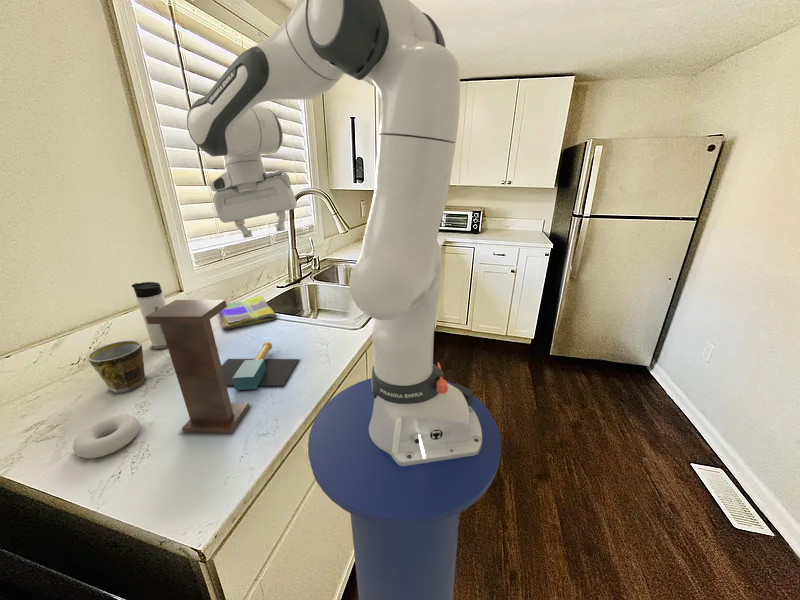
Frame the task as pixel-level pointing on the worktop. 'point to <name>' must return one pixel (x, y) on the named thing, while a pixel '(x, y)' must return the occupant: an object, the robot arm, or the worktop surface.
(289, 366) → the mat
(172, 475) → the worktop surface
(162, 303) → the travel mug
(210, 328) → the brown wooden pedestal
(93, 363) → the ceramic cup
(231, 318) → the dish towel
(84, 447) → the donut
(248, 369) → the mallet
